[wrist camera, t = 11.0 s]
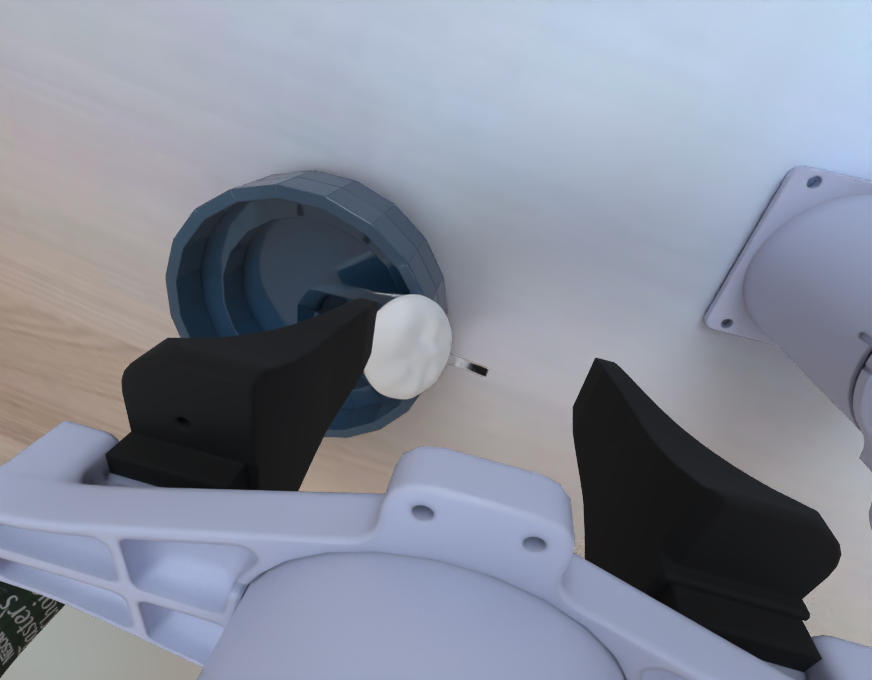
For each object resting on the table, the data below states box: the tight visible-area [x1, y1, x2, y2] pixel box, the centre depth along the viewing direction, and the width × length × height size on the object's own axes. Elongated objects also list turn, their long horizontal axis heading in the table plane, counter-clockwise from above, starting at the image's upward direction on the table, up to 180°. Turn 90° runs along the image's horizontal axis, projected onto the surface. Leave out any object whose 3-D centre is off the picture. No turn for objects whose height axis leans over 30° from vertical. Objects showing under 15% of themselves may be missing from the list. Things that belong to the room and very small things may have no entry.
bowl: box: [166, 171, 447, 438], centre depth 24 cm, size 14×14×4 cm
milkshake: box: [297, 283, 489, 399], centre depth 21 cm, size 4×5×10 cm
